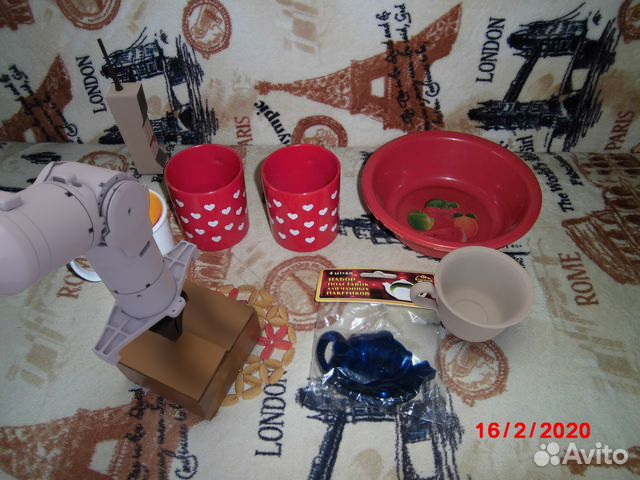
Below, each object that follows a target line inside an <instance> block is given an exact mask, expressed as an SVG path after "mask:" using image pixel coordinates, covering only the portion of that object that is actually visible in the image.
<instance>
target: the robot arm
mask: <svg viewBox="0 0 640 480" xmlns="http://www.w3.org/2000/svg"><path fill="white" fill-rule="evenodd" d="M39 172H40V173H39V174H38V175H37V177H36V179H35V181H34V182H32V184H31V185H29V186H27V187H25V189H22V190H20V191H18V192H15V193H13V192H10V191H5V190H0V296H5V297H6V296H8V297H11V296H16V295H19V294H22V293H24V292H25V291H26V290H27V289H29V288H31V287H32V286H34V285H36V284H38V283H39V282H40V281H42V280H45V278H47V277H49V276H50V275H52V274H53V273H55V272H56V271H59V270H60V269H61V268H63V267H64V266H66V265H68V264H71V262H73V261H75V260H76V259H78V258H79V257H81V256H83V257H84V258H85V260H86V261H87V262H88V263H89V265H90V266H91V268H92V269H93V270H94V272H95V273H96V275H97V276H98V277H99V279H100V280H101V282H102V283H103V285H104V286H105V288H106V289H107V291H108V292H109V293H110V295H111V296H112V297H113V299H114V300H115V301H114V303H113V305H112V308H111V311H110V314H109V316H108V318H107V320H106V323H105V326H104V328H103V329H102V332H101V334H100V336H99V338H98V340H97V342H96V343H95V344H94V346H93V347H92V348H91V351H92V352H93V353H94V354H95V355H96V357H97V358H99V359H100V360H102V361H104V362H106V363H107V364H110V365H112V366H113V367H116V366H115V365H116V364H117V363H118V361H119V360H120V359H121V355H120V354H119V351H120V350H121V349H122V348H123V347H125V346H126V345H127V344H129V343H130V342H131V341H133V340H134V339H135V338H137V337H138V336H139V335H141V334H142V333H143V332H145V331H146V330H149V331H151V332H154V333H156V334H160V335H162V336H163V337H165V338H167V339H169V340H171V341H174V342H177V340H178V339H179V337H180V336H181V334H182V320H183V312H184V309H185V306H186V304H187V302H188V300H189V298H188V296H187V294H186V292H185V291H183V290H182V287H183V284H184V281H185V279H186V278H187V275H188V272H189V269H190V265H191V263H192V262H196V261H197V260H198V259H199V258H200V256H201V253H200V251H199V248H198V246H197V244H195V243H192V242H189V241H186V240H185V239H181V240H180V241H179V242H178V243H177V244H176V246H174V247H173V248H171V249H170V250H169V251H168V252H167V253H165V254H162V252H161V249H160V247H159V245H158V243H157V241H156V239H155V237H154V230H153V229H154V224H153V221H152V219H151V216H150V209H151V193H150V188H149V186H148V184H147V183H145V184H143V183H140V182H139V181H138V179H137V178H136V177H135V176H134V175H133V174H131V173H128V172H125V171H120V170H115V169H112V168H105V167H101V166H96V165H92V164H87V163H83V162H79V161H69V160H60V161H51V162H49V163H48V164H47V165H45V166H44V168H42V170H41V171H39Z"/></svg>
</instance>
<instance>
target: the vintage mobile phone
mask: <svg viewBox="0 0 640 480" xmlns="http://www.w3.org/2000/svg"><path fill="white" fill-rule="evenodd" d="M96 41H97V44H98V46H99V49H100V51H101V53H102V55H103V58H104V61H105V63H106V65H107V69H108V73H109V74H110V76H111V80H112V83H111V84H110V86H109V88H108V91H107V93H106V95H105V97H104V98H105V102H106V103H107V106H108V108H109V110H110V113H111V115H112V118H113V119H114V122H115V123H116V126H117V128H118V131H119V133H120V135H121V137H122V140H123V142H124V144H125V147H126V148H127V151H128V153H129V155H130V157H131V160H132V161H133V165H134V166H135V168H136V171H137V173H138V175H164V174H163V169H164V167H165V165H166V163H167V162H168V161H169V162H170V158H169V155H168V154H167V153H166V152H165V151H164V150H162V148H161V146H160V144H159V141H158V139H157V136H156V133H155V131H154V128H153V125H152V123H151V121H150V117H149V115H148V110H149V106H148V101H147V98H146V95H145V94H146V93H145V90H144V86H143V82H121V81H120V79H119V77H118V75H117V73H116V70H115V68H114V66H113V64H112V62H111V60H110V57H109V54H108V52H107V49H106V47H105V45H104V42H103V40H102V38H100V37H98V38H96Z"/></svg>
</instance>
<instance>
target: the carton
mask: <svg viewBox="0 0 640 480" xmlns="http://www.w3.org/2000/svg"><path fill="white" fill-rule="evenodd" d="M182 290H183V291H185V292H186V294H187V296H188V298H189V300H188V302H187V304H186V306H185V309H184V312H183V320H182V329H183V330H185V331H187V332H189V333H191V334H194V335H196V336H198V337H200V338H202V339H205V340H207V341H209V342H211V343H214V344H216V345H218V346H220V347H222V348H225V349H226V350H227V351H226V353H225V355H224V357H223V358H222V360H221V362H220V364H219V365H218V367H217V369H216V371H215V372H214V374H213V376H212V378H211V379H210V381H209V383H208V385H207V387H206V388H205V390H204V392H203V394H202V395H201V397H200V399H199V401H197V400H195V399H193V398H191V397H189V396H187V395H185V394H183V393H181V392H179V391H177V390H175V389H173V388H171V387H169V386H167V385H165V384H163V383H161V382H159V381H157V380H155V379H153V378H151V377H149V376H147V375H145V374H143V373H141V372H139V371H137V370H135V369H133V368H131V367H129V366H127V365H125V364H123V363H121V362H119V361H118V363H117V364H116V365H115V366H114V367H116V368H117V369H118V370H119V371H120V373H121V374H122V375H123V376H124V377H125V378H126V380H129V381H130V382H133V383H134V384H137V385H138V386H140V387H143V388H144V389H146V390H148V391H150V392H152V393H154V394H157V395H158V396H160V397H162V398H164V399H166V400H168V401H170V402H172V403H174V404H176V405H178V406H180V407H182V408H184V409H185V410H187V411H190V412H192V413H193V414H195V415H198V416H200V417H201V418H204V419H205V420H207V421H209V422H212V420H213V418H214V416H215V415H216V413H217V411H218V410H219V408H220V406H221V405H222V403H223V401H224V399H225V398H226V396H227V394H228V393H229V392H230V389H231V388H232V386H233V384H234V383H235V381H236V379H237V378H238V376H239V374H240V372H241V371H242V369H243V368H244V366H245V364H246V362H247V361H248V359H249V358H250V356H251V354H252V353H253V351H254V349H255V347H256V345H257V344H258V342H259V341H260V339H261V337H262V335H263V332H262V331H263V330H262V328H261V323H260V319H259V315H258V312H257V310H256V307H254V306H252V305H249V304H247V303H244V302H242V301H239V300H238V299H235V298H232V297H230V296H227V295H225V294H222V293H220V292H218V291H215V290H213V289H211V288H208V287H205V286H203V285H201V284H198V283H196V282H194V281H191V280H189V279H186V278H185V281H184V284H183V287H182ZM240 369H241V370H240ZM239 370H240V371H239Z"/></svg>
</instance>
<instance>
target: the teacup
mask: <svg viewBox="0 0 640 480" xmlns="http://www.w3.org/2000/svg"><path fill="white" fill-rule="evenodd" d="M434 285H435V286H434ZM422 294H430V297H431V298H432V299H431V298H428V297H425V296H420V295H422ZM535 296H536V292H535V287H534V284H533V281H532V279H531V277H530V275H529V274H528V272H527V271H526V269H525V268H524V267H523V266H522V265H521V264H520V263H519V261H517V260H515V258H512V257H511V255H508V254H506V253H504V252H502V251H500V250H498V249H494V248H492V247H487V246H482V245H468V246H467V245H466V246H462V247H459V248H456V249H454V250H451V251H450V252H448V253H447V254H446V255H444V256H443V257H442V258H441V260H440V261H439V262H438V264H437V266H436V269H435V273H434V284H433V283H432V282H430V281H419V282H417V283H415V284H413V285H412V286H411V288H410V290H409V299H410V301H411V302H412V304H414V305H415V306H417V307H420V308H423V309H429V310H432V311H434V312H436V313H437V314H438V317H439V320H440V322H441V324H442V325H443V327H444V328H445V330H447V331H448V332H449V333H450V334H452V335H453V336H454V337H457V338H458V339H460V340H463V341H466V342H471V343H482V342H487V341H489V340H493V338H496V337H497V336H499V335H500V334H502V332H504V331H505V330H506V329H507V328H509V327H511V326H514V325H517V324H518V323H521V322H522V321H523V320H525V318H527V316H528V315H530V313H531V311H532V310H533V308H534V304H535ZM433 299H436V301H435V300H433Z"/></svg>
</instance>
